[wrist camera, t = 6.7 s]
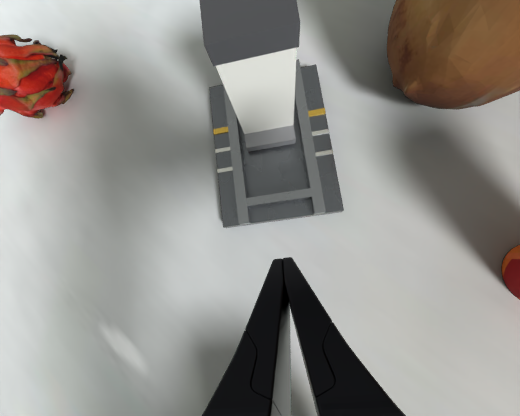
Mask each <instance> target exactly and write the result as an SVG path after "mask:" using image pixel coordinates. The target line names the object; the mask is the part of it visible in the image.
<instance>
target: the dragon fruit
mask: <svg viewBox="0 0 520 416" xmlns="http://www.w3.org/2000/svg"><path fill="white" fill-rule="evenodd" d="M14 40H17V41H19V42H30V41H31V40H32V39H30V38H28V39H21V38H20V37H19V36H17V35H2V36H0V115H1V114H2V113H3V112H4V109H10V110H12V111H15V112H17V113H19V114H21V115H23V116H27V117H33V118H43V113H42V112H41V111H39V110H40V109H45V108H47V107H51V106H52V107H54V106H58V105H59V104H61V103H62V104H64V103H65V102H66V101H67V100H68V99H69V98H70V96H71V94H72V92H73V89H71V90H70V91H65V92H64V93H61V92H62V91H63V90H64V86H63V83H64V82H65V81H66V80H67V78H68V75H70V74H72V73H71V72H70V70H69V69H68V67H67V66H66V65H65V64H64V63H63V61H64V60H65V59H67V58H66V57H65V56H63V55H61V54H60V57H59V56H58V55H57V54H56V52H57V50H54V49H52V48H49V47H47V46H45V45H41V43H39V41H38V40H36V41H34V42H33V45H26V46H23V47H21V46H16V44H15V41H14ZM52 58H55V59H52ZM57 59H58V60H59V61H57Z"/></svg>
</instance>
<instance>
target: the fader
mask: <svg viewBox="0 0 520 416" xmlns="http://www.w3.org/2000/svg"><path fill="white" fill-rule="evenodd" d="M200 9H201V19H202V29H203V39H204V46H205V48H206V50H207V52H208V55H209V57H210V59H211V62H212V64H213V66H216V68H217V71H218V73H219V75H220V78H221V80H222V82H223V85H224V87H225V89H226V92H227V94H228V96H229V99H230V101H231V104H232V106H233V108H234V111H235V113H236V115H237V118H238V120H239V122H240V125H241V127H242V130H243V132H244V134H245V142H246V149H247V151H248V152H250V151H256V150H262V149H267V148H273V147H279V146H284V145H290V144H295V143H296V138H295V131H294V125H293V124H294V101H295V77H296V54H297V47H299V34H300V18H299V13H298V7H297V2H296V0H200Z"/></svg>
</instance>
